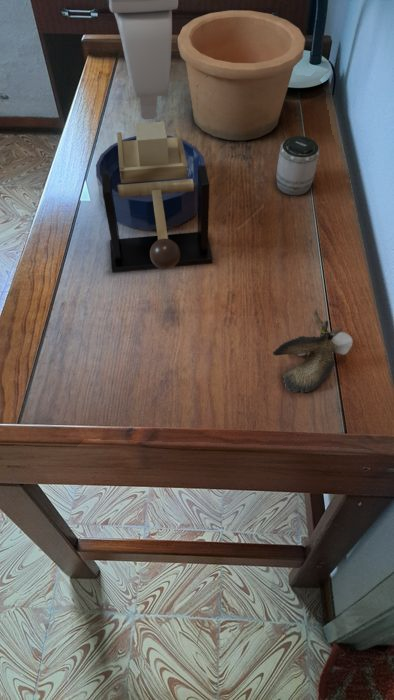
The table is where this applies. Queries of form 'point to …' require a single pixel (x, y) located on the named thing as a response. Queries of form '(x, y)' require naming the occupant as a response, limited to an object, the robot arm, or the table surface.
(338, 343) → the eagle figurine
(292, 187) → the camera lens
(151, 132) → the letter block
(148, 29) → the robot arm
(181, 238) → the stand
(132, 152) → the tan piece
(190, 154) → the navy blue bowl
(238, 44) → the pottery
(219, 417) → the table surface
